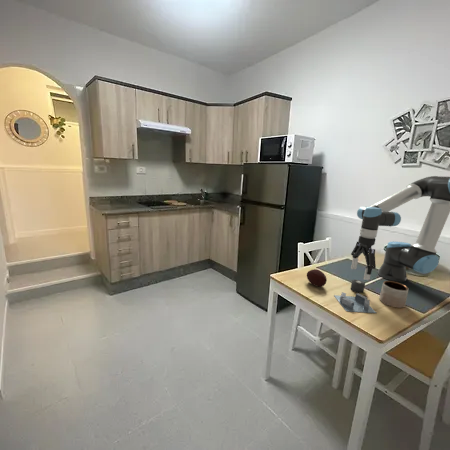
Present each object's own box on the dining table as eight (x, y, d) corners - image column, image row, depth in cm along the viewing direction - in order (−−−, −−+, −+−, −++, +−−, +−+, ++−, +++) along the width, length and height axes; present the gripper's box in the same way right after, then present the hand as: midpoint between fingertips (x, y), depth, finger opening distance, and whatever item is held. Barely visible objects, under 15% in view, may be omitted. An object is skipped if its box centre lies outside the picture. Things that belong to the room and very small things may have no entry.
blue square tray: (360, 297, 124) (361, 291, 123) (376, 313, 111) (377, 307, 110) (333, 295, 125) (334, 290, 124) (346, 311, 111) (347, 304, 110)
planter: (395, 310, 114) (400, 292, 112) (374, 298, 124) (378, 282, 121) (409, 306, 118) (414, 288, 116) (387, 295, 128) (391, 279, 126)
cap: (359, 287, 135) (361, 279, 134) (365, 293, 129) (367, 285, 128) (348, 287, 135) (349, 278, 134) (353, 292, 129) (355, 284, 128)
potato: (319, 291, 128) (321, 275, 126) (301, 282, 138) (303, 267, 136) (329, 288, 133) (331, 272, 131) (311, 279, 143) (313, 264, 140)
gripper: (349, 230, 137) (342, 264, 142) (374, 243, 113) (365, 283, 118) (362, 231, 137) (355, 265, 142) (390, 244, 113) (380, 285, 117)
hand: (359, 273), depth 130 cm, fingers open, 13 cm apart
